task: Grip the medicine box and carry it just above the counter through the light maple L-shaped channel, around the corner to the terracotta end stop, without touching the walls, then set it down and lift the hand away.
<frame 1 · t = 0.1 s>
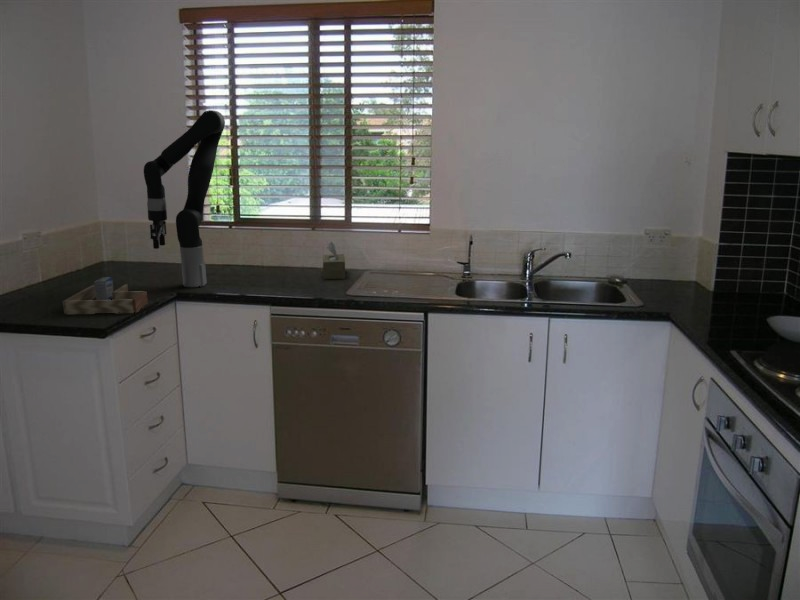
hand: (159, 246, 282), 17 cm above the table, tool pointing down, fingers open, 8 cm apart
medicine box: (105, 300, 263), on the table
tissue box: (334, 275, 307), on the table
channel: (112, 304, 256), on the table
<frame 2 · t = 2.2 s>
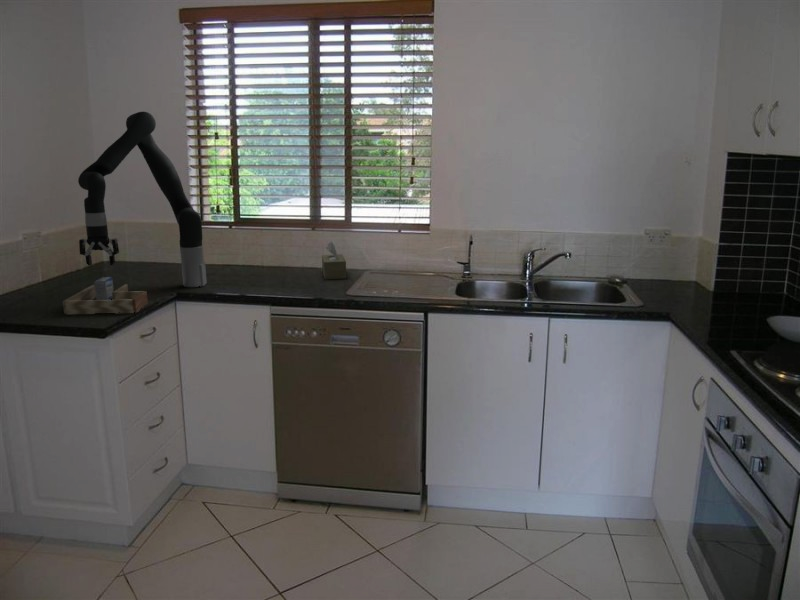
hand: (100, 265, 260), 14 cm above the table, tool pointing down, fingers open, 8 cm apart
nothing on the table moved.
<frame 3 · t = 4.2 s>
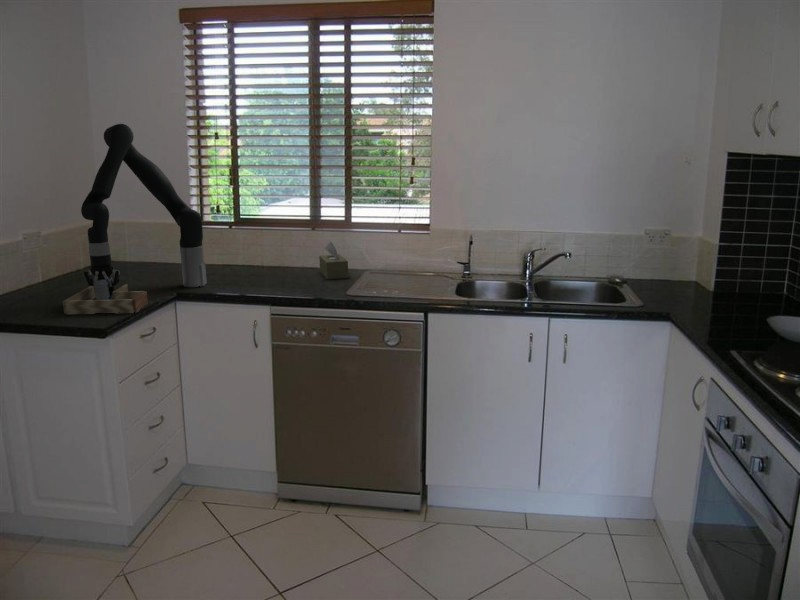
hand: (105, 295, 262), 2 cm above the table, tool pointing down, fingers closed on medicine box, 4 cm apart
medicine box: (105, 300, 263), on the table, touching gripper
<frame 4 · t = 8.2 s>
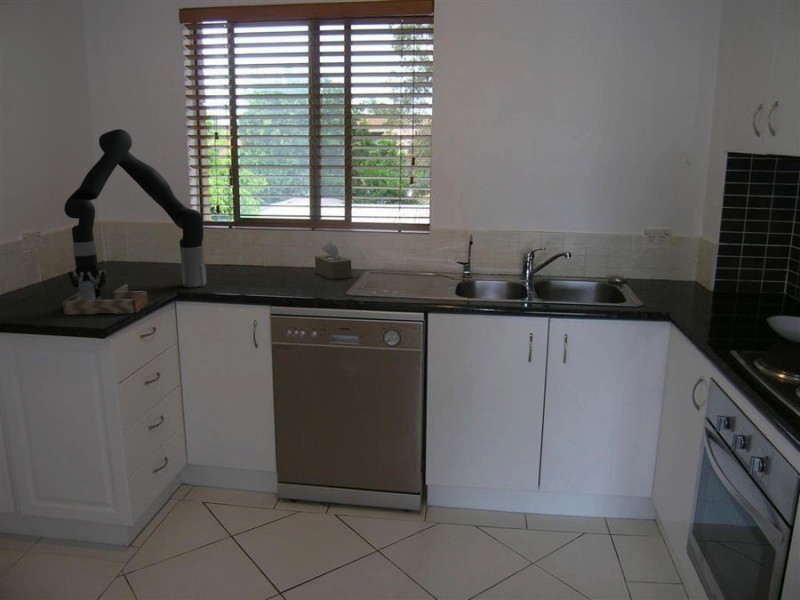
hand: (90, 297, 249), 4 cm above the table, tool pointing down, fingers closed on medicine box, 4 cm apart
medicine box: (91, 302, 250), point 2 cm above the table, touching gripper
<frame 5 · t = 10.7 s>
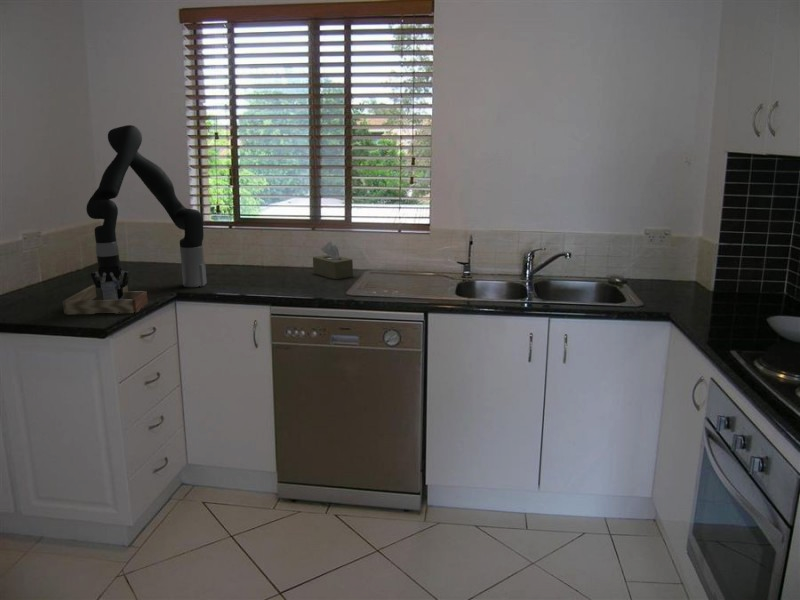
hand: (113, 298, 249), 4 cm above the table, tool pointing down, fingers closed on medicine box, 4 cm apart
medicine box: (113, 303, 250), point 2 cm above the table, touching gripper
when the fingers open (3 cm above the table, at t = 12.5 s): medicine box stays where it is, on the table.
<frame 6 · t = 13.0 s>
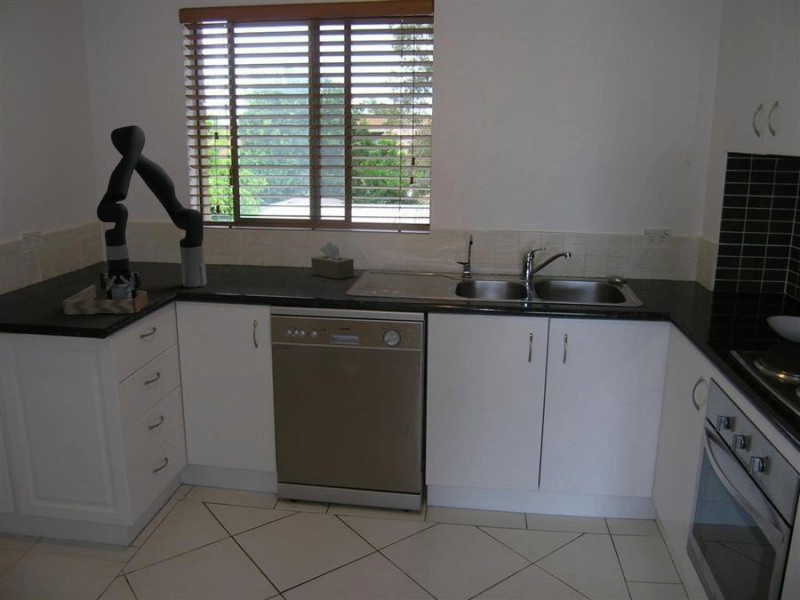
hand: (122, 299, 249), 4 cm above the table, tool pointing down, fingers open, 8 cm apart
medicine box: (123, 309, 250), on the table
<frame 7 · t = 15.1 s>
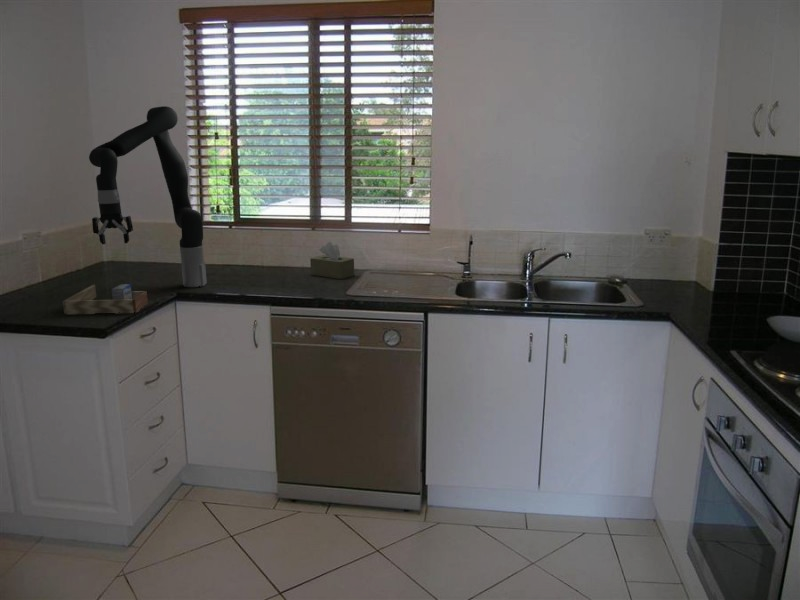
hand: (115, 243, 256), 23 cm above the table, tool pointing down, fingers open, 8 cm apart
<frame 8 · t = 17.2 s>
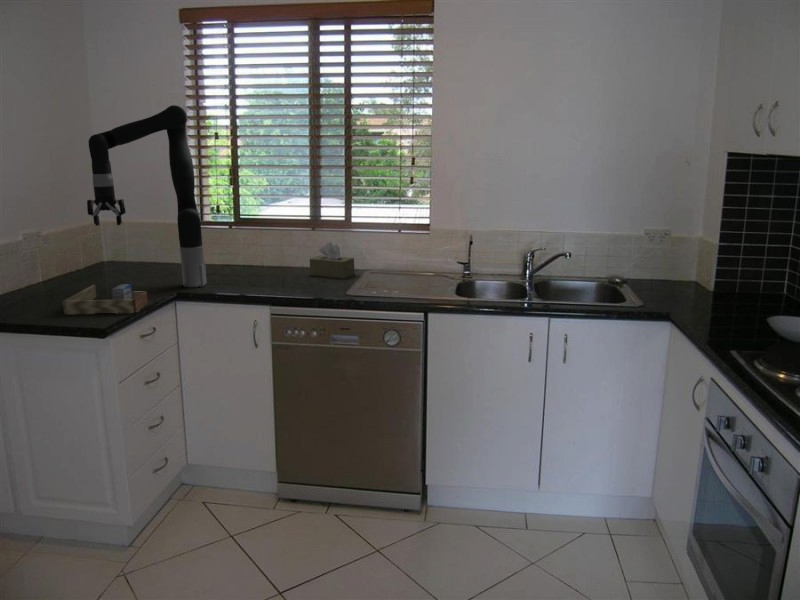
hand: (108, 225, 269), 28 cm above the table, tool pointing down, fingers open, 8 cm apart
at the end: medicine box inside the target area (0.1 cm from its centre), on the table; medicine box tilted 0°; medicine box touching table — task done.
